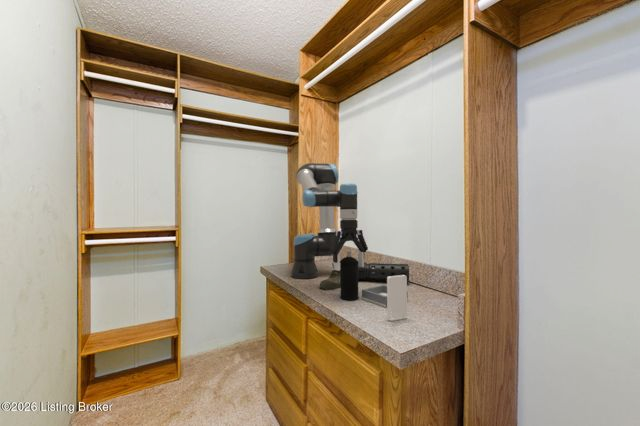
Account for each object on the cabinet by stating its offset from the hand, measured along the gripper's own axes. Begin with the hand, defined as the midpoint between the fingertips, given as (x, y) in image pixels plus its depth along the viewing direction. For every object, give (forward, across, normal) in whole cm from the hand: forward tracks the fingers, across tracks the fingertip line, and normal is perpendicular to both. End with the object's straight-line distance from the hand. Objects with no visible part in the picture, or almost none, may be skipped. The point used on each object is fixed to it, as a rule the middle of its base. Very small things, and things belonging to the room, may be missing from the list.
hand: (349, 268), depth 122 cm
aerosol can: (+13, 0, 0) cm, 13 cm away
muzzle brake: (+13, +32, +12) cm, 36 cm away
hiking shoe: (+13, +7, +18) cm, 23 cm away
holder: (+13, +10, -10) cm, 20 cm away
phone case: (+14, -2, -28) cm, 31 cm away
